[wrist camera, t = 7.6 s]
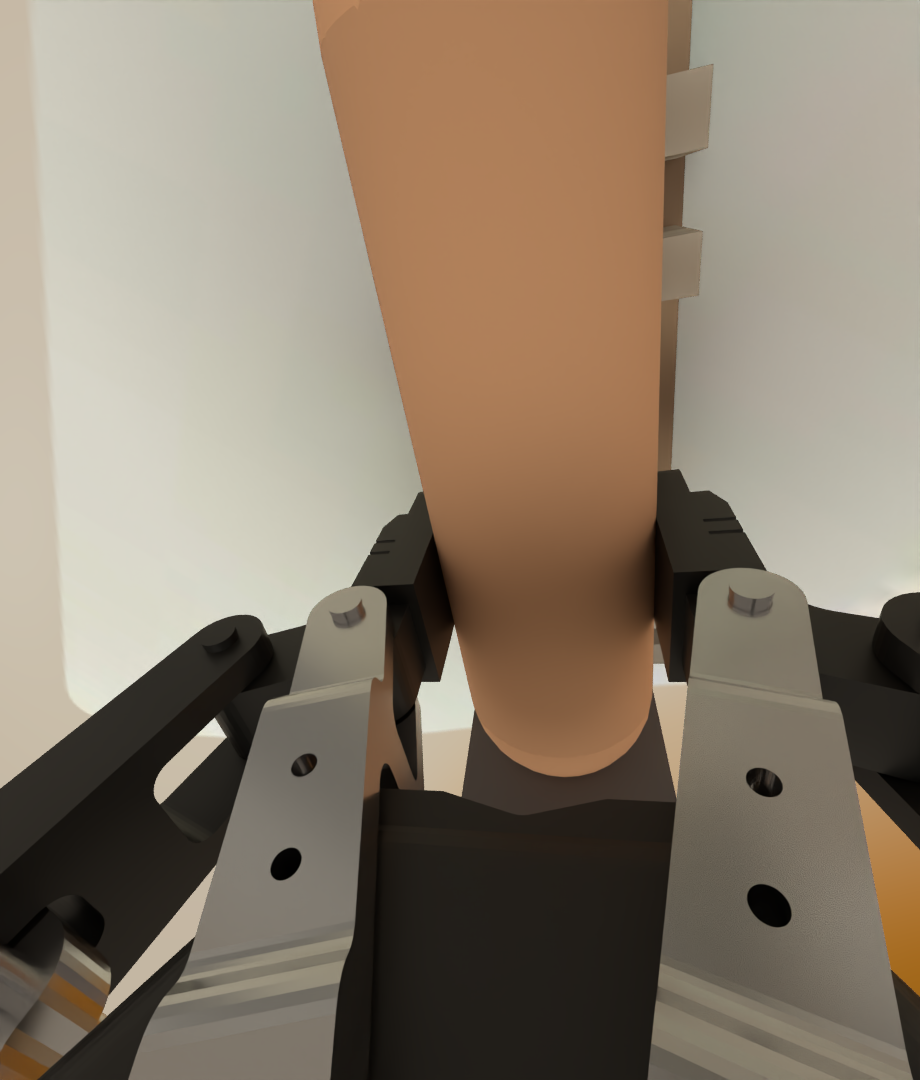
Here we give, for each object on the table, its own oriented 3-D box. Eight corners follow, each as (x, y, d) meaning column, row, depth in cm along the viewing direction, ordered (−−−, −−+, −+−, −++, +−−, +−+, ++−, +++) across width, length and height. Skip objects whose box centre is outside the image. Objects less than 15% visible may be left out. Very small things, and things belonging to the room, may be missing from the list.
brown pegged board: (364, 27, 15) (290, -38, 11) (683, -68, 13) (742, -192, 9) (476, 596, 26) (461, 671, 22) (659, 589, 24) (680, 670, 20)
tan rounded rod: (325, -82, 7) (96, -383, 4) (657, -201, 6) (809, -775, 3) (497, 736, 16) (481, 890, 12) (644, 737, 15) (675, 905, 12)
